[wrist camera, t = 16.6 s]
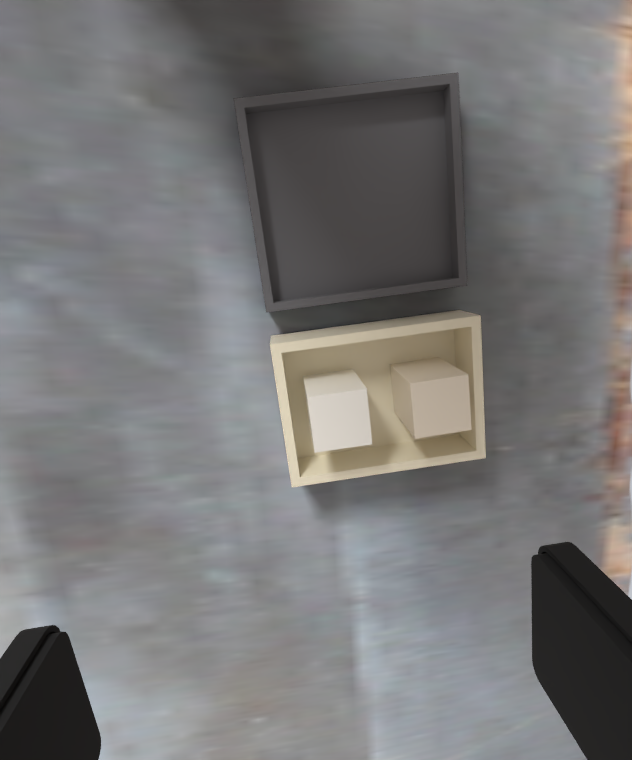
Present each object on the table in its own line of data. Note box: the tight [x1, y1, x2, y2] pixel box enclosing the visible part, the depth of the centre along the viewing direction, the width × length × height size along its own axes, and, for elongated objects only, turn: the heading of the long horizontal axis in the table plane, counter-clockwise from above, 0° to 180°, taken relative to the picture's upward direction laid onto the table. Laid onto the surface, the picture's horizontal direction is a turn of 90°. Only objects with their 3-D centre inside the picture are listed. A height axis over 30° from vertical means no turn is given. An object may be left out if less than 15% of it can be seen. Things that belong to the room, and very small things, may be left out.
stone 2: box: [389, 357, 472, 439], centre depth 34 cm, size 4×4×6 cm
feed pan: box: [234, 73, 467, 312], centre depth 33 cm, size 14×15×2 cm
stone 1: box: [303, 369, 372, 453], centre depth 34 cm, size 4×4×6 cm
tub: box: [270, 310, 486, 487], centre depth 36 cm, size 11×15×4 cm
